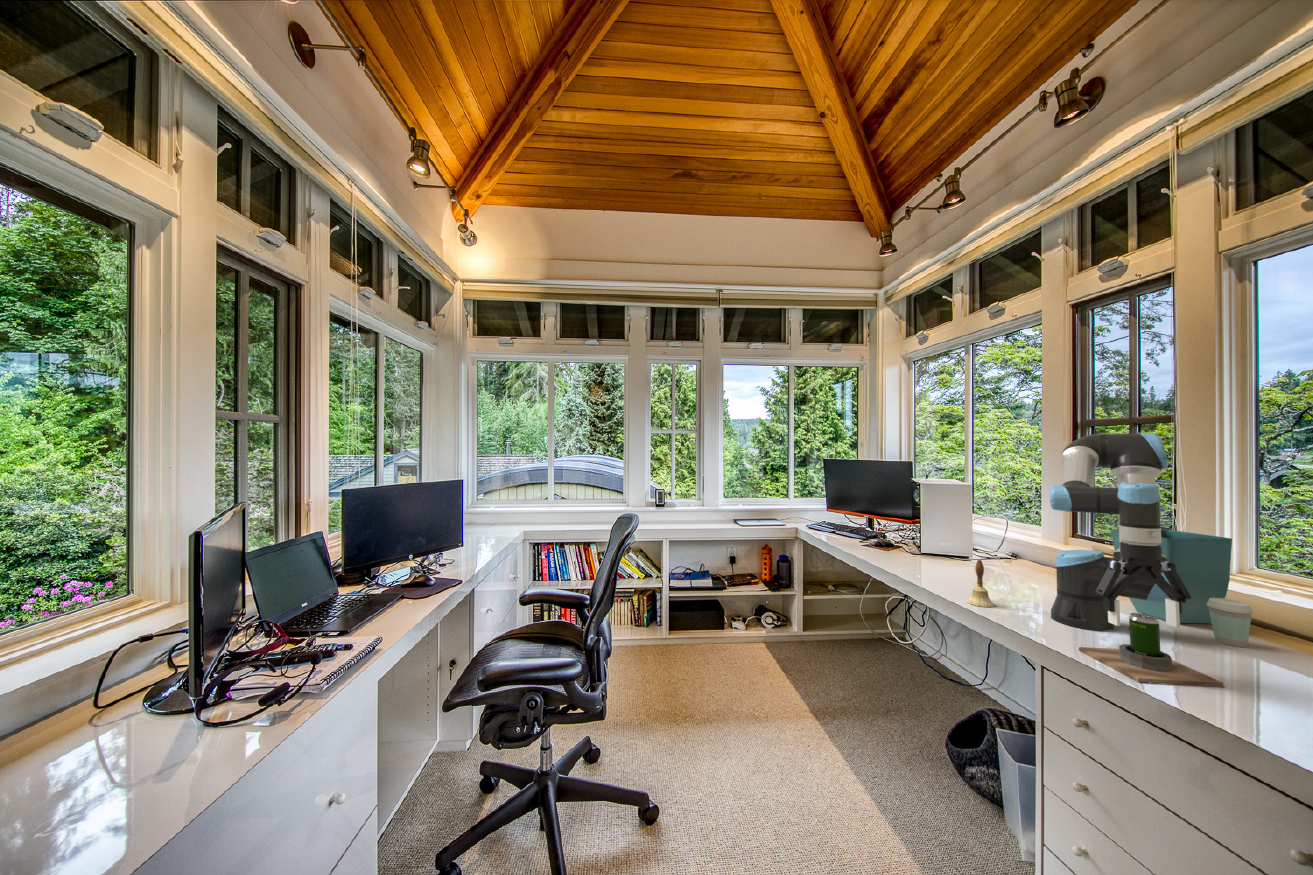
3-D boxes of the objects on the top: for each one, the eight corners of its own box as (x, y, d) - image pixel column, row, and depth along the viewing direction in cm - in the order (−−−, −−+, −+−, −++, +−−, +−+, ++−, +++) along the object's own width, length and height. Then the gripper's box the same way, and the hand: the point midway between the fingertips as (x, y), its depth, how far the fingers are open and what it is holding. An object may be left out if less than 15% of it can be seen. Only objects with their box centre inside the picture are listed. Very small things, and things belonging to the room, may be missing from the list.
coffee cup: (1265, 650, 128) (1263, 607, 128) (1228, 648, 130) (1226, 605, 130) (1233, 638, 136) (1231, 597, 137) (1198, 636, 138) (1197, 596, 138)
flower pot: (1112, 606, 165) (1109, 528, 166) (1169, 607, 164) (1166, 528, 165) (1172, 627, 145) (1168, 538, 146) (1238, 628, 144) (1234, 538, 145)
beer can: (1158, 669, 114) (1156, 621, 115) (1128, 661, 119) (1126, 615, 119) (1163, 664, 117) (1161, 617, 118) (1133, 656, 122) (1131, 611, 122)
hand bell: (963, 599, 173) (962, 557, 174) (988, 601, 171) (987, 558, 172) (972, 606, 165) (971, 562, 166) (998, 608, 163) (997, 563, 164)
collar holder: (1078, 650, 128) (1078, 636, 128) (1151, 653, 126) (1150, 639, 126) (1138, 682, 110) (1137, 665, 110) (1223, 686, 108) (1222, 669, 108)
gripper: (1099, 545, 117) (1102, 628, 116) (1210, 546, 114) (1213, 632, 113) (1076, 539, 124) (1078, 617, 124) (1179, 540, 121) (1183, 621, 121)
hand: (1143, 625), depth 118 cm, fingers open, 13 cm apart
